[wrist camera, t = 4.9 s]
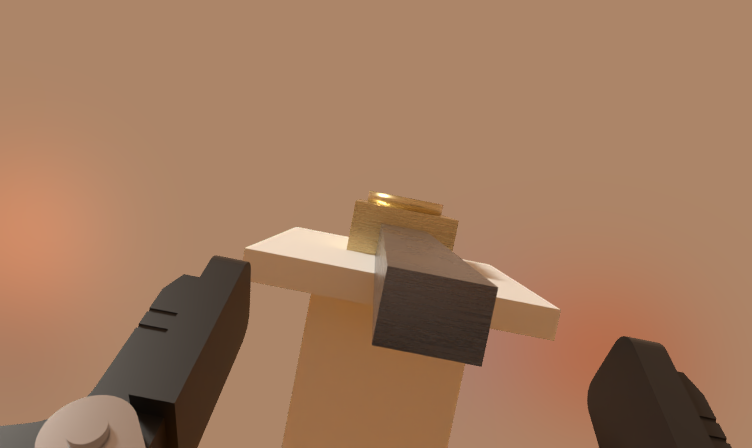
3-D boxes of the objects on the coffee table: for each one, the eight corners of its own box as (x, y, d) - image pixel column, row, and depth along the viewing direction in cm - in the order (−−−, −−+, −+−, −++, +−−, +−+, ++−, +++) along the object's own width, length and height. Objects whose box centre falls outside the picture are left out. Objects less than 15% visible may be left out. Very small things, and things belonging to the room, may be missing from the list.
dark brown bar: (434, 254, 30) (444, 205, 30) (551, 379, 10) (584, 230, 10) (352, 238, 30) (362, 189, 30) (301, 331, 10) (330, 180, 10)
